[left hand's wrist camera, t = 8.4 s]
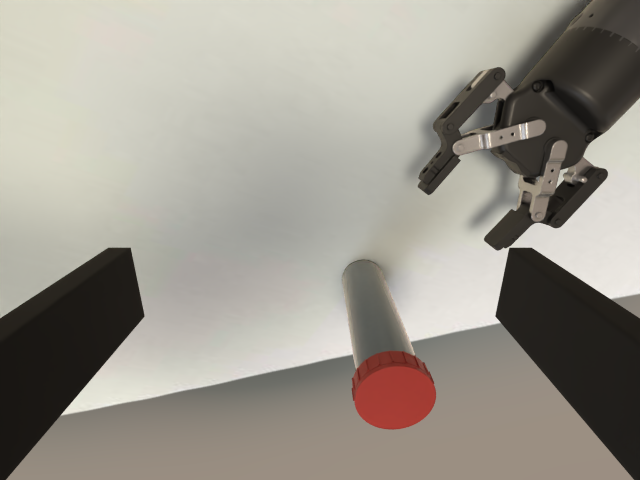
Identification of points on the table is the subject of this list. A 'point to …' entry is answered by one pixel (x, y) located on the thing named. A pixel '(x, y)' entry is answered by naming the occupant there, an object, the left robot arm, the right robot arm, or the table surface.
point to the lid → (393, 390)
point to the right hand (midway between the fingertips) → (457, 219)
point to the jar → (372, 313)
